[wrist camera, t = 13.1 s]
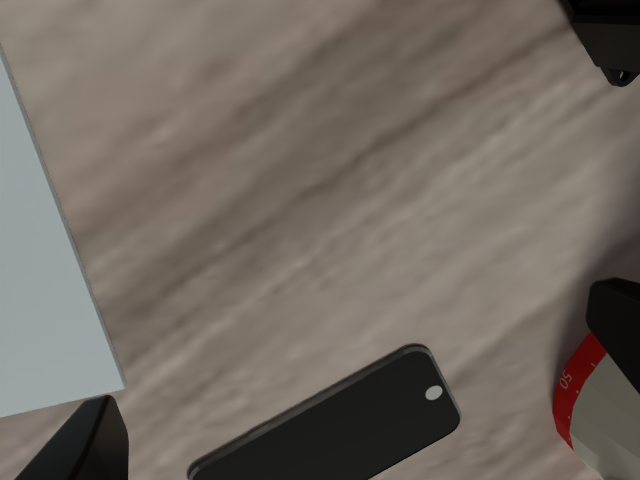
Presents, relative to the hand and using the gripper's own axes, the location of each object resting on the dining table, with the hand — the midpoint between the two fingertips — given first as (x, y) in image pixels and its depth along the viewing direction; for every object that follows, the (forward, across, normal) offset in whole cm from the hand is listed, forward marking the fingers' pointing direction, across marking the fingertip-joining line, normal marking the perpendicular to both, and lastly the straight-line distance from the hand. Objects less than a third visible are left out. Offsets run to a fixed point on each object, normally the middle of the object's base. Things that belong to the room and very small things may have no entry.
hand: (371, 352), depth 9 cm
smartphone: (+14, -1, +17) cm, 22 cm away
